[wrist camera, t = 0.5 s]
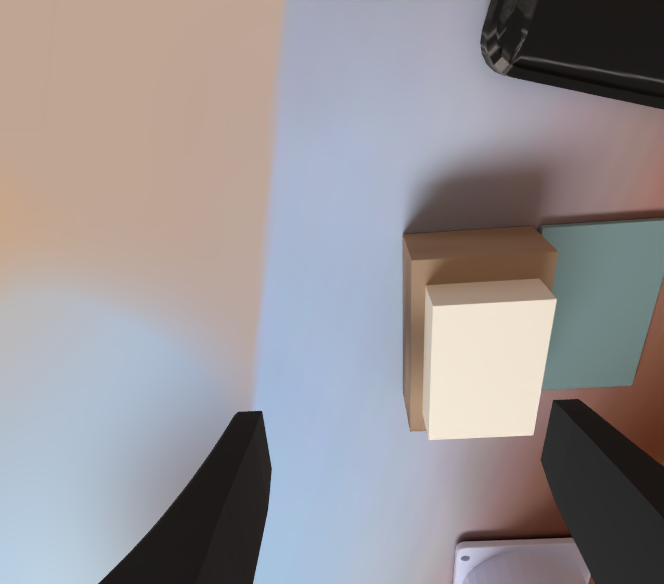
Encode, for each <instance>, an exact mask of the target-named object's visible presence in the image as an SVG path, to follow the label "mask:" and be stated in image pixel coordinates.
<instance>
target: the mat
mask: <svg viewBox="0 0 664 584" xmlns="http://www.w3.org/2000/svg"><path fill="white" fill-rule="evenodd" d="M539 233H540V234H541V235H542V236H543V237H544V238H545V239H546V240H547V241H548V242H549V243H550V244H551V245H552V246H553V247H554V248H555V249H556V250H557V251H558V257H557V263H556V269H555V275H554V281H553V287H552V294H553V295H554V296H555V297H556V299H557V302H556V307H555V313H554V319H553V325H552V330H551V336H550V342H549V348H548V353H547V359H546V365H545V371H544V376H543V382H542V388H541V390H555V389H575V388H595V387H616V386H632V384H633V380H634V377H635V373H636V370H637V366H638V363H639V359H640V356H641V352H642V349H643V345H644V342H645V338H646V335H647V332H648V328H649V325H650V321H651V318H652V314H653V311H654V307H655V304H656V300H657V297H658V293H659V290H660V286H661V283H662V279H663V276H664V218H648V219H632V220H617V221H601V222H585V223H570V224H554V225H540V227H539Z"/></svg>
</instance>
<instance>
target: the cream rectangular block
mask: <svg viewBox="0 0 664 584" xmlns="http://www.w3.org/2000/svg"><path fill="white" fill-rule="evenodd" d="M556 302H557V299H556V297H555V296H554V295H553V294H552V293H551V291H550V290H549V289H548V288H547V287H546V286H545V284H544V283H543V282H542V281H541V280H540V278H539V279H522V280H505V281H488V282H471V283H454V284H437V285H425V326H424V368H423V410H422V413H423V418H424V422H425V427H426V431H427V435H428V440H440V439H462V438H484V437H506V436H528V435H533V434H534V428H535V422H536V417H537V411H538V405H539V399H540V394H541V388H542V382H543V376H544V371H545V365H546V359H547V353H548V348H549V342H550V336H551V330H552V325H553V319H554V313H555V307H556Z"/></svg>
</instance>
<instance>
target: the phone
mask: <svg viewBox="0 0 664 584" xmlns="http://www.w3.org/2000/svg"><path fill="white" fill-rule="evenodd" d="M480 43H481V50H482V55H483V57H484V59H485V61H486V64H487V65H488V66H489V67H490V68H491V69H492V70H493V71H494V72H497V73H499V74H502V75H504V76H508V77H513V78H517V79H522V80H527V81H532V82H536V83H541V84H546V85H550V86H555V87H560V88H565V89H569V90H574V91H579V92H584V93H588V94H593V95H598V96H602V97H607V98H612V99H617V100H621V101H626V102H631V103H636V104H640V105H645V106H650V107H654V108H659V109H664V0H491V2H490V5H489V9H488V12H487V15H486V19H485V22H484V26H483V29H482V35H481V42H480Z"/></svg>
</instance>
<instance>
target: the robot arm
mask: <svg viewBox="0 0 664 584" xmlns="http://www.w3.org/2000/svg"><path fill="white" fill-rule="evenodd" d="M541 462H542V465H543V468H544V471H545V474H546V477H547V480H548V483H549V486H550V489H551V491H552V494H553V497H554V500H555V502H556V504H557V506H558V508H559V511H560V513H561V515H562V517H563V519H564V521H565V523H566V525H567V527H568V529H569V531H570V533H571V535H572V537H573V538H549V539H522V540H494V541H467V542H461V543H459V544H458V545H457V546H456V551H455V563H454V576H453V584H588V582H589V579H590V576H592V578H593V580H594V582H595V584H664V467H663V466H662V465H661V464H659V463H658V462H657V461H655V460H654V459H653V458H652V457H650V456H649V455H648V454H646V453H645V452H644V451H643V450H641V449H640V448H639V447H638V446H636V445H635V444H634V443H633V442H631V441H630V440H629V439H628V438H626V437H625V436H624V435H623V434H621V433H620V432H619V431H618V430H616V429H615V428H614V427H613V426H612V425H610V424H609V423H608V422H607V421H605V420H604V419H603V418H602V417H600V416H599V415H598V414H597V413H596V412H594V411H593V410H592V409H591V408H589V407H588V406H587V405H586V404H584V403H583V402H582V401H580V400H579V399H570V400H553V404H552V409H551V413H550V418H549V423H548V428H547V433H546V437H545V442H544V447H543V452H542V457H541ZM271 471H272V468H271V462H270V456H269V450H268V444H267V438H266V432H265V426H264V420H263V414H262V411H248V412H238V413H237V414H235V415H234V417H233V418H232V420H231V422H230V424H229V425H228V427H227V428H226V430H225V431H224V433H223V435H222V436H221V438H220V439H219V441H218V442H217V444H216V445H215V447H214V448H213V450H212V451H211V453H210V454H209V456H208V457H207V458H206V460H205V461H204V463H203V464H202V465H201V467H200V468H199V470H198V471H197V472H196V474H195V475H194V477H193V478H192V479H191V481H190V482H189V483H188V485H187V486H186V487H185V489H184V490H183V491H182V492H181V494H180V495H179V496H178V497H177V499H176V500H175V501H174V502H173V504H172V505H171V506H170V507H169V509H168V510H167V511H166V512H165V514H164V515H163V516H162V517H161V518H160V520H159V521H158V522H157V523H156V524H155V525H154V526H153V528H152V529H151V530H150V531H149V532H148V533H147V534H146V535H145V537H144V538H143V539H142V540H141V541H140V542H139V543H138V544H137V545H136V546H135V547H134V548H133V550H132V551H131V552H130V553H129V554H128V555H127V556H126V557H125V558H124V559H123V560H122V561H121V562H120V563H119V564H118V565H117V566H116V567H115V568H114V569H113V570H112V571H111V572H110V573H109V574H108V575H107V576H106V577H105V578H104V579H103V580H102V581H101V582H100V583H98V584H253V580H254V575H255V571H256V566H257V561H258V556H259V551H260V546H261V541H262V537H263V532H264V527H265V522H266V517H267V511H268V504H269V494H270V482H271Z"/></svg>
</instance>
